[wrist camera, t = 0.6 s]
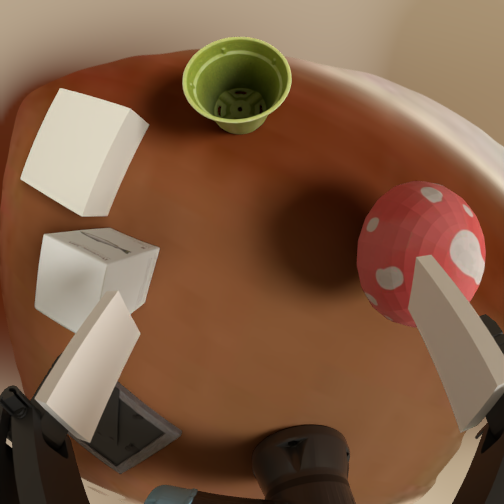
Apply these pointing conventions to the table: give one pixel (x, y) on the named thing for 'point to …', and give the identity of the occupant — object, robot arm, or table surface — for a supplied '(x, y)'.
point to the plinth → (83, 152)
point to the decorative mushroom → (417, 245)
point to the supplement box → (91, 273)
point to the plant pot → (237, 82)
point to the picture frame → (128, 432)
